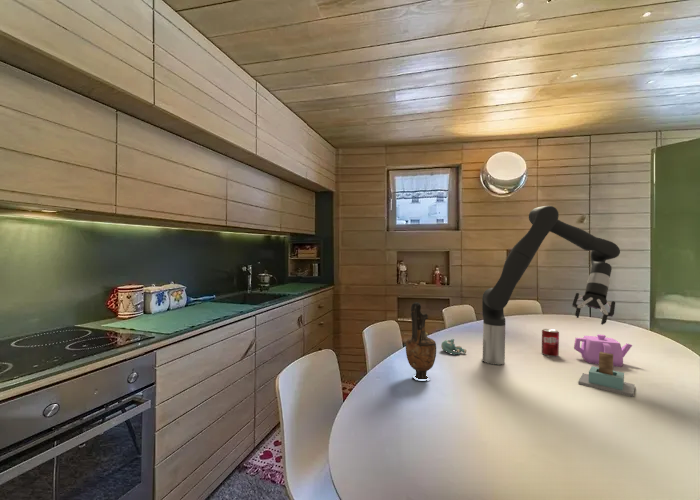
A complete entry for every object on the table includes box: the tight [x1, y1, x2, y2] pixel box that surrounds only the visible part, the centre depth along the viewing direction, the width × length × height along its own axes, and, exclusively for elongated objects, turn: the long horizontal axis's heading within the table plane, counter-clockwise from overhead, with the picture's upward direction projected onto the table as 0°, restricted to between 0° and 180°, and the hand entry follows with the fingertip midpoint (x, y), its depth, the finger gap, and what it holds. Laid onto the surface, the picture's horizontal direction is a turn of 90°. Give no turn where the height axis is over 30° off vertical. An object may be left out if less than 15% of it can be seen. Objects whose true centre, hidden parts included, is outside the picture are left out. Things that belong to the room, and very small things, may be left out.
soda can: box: [541, 328, 560, 358], centre depth 163 cm, size 7×7×12 cm
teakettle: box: [573, 333, 633, 368], centre depth 155 cm, size 17×17×12 cm
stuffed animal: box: [441, 338, 467, 355], centre depth 164 cm, size 11×7×12 cm
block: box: [598, 352, 614, 375], centre depth 126 cm, size 4×2×11 cm, turn 47°
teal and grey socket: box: [577, 365, 636, 398], centre depth 126 cm, size 16×12×5 cm
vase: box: [405, 301, 437, 379], centre depth 129 cm, size 12×12×30 cm
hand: (589, 320), depth 138 cm, fingers open, 8 cm apart
